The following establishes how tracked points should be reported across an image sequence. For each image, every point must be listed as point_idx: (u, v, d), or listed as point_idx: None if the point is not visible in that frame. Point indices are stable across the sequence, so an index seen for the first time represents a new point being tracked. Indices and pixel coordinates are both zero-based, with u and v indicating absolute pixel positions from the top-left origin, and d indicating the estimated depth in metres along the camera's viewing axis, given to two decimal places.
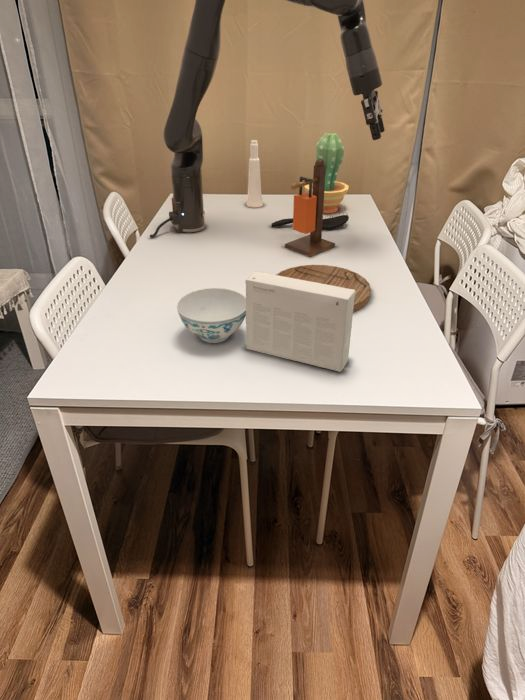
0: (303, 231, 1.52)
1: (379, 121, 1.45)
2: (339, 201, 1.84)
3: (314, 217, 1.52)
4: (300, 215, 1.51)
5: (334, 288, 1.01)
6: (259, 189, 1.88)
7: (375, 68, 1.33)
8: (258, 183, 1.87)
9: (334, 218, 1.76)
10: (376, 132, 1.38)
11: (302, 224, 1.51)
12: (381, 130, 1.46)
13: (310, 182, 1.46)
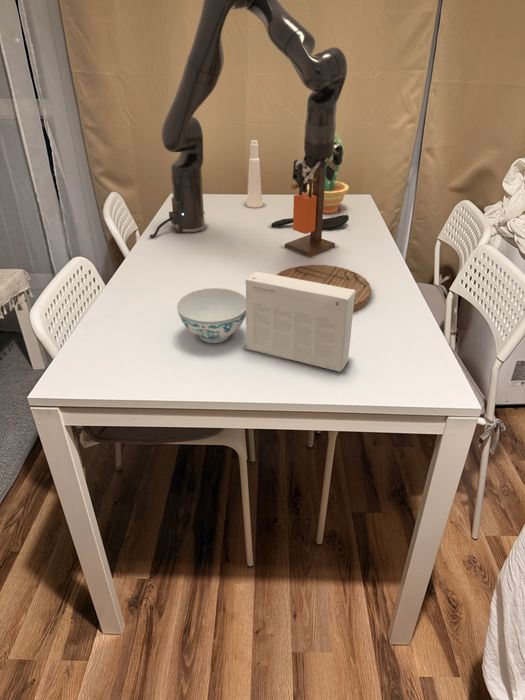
0: (303, 231, 1.52)
1: (329, 171, 1.46)
2: (339, 201, 1.84)
3: (314, 217, 1.52)
4: (300, 215, 1.51)
5: (334, 288, 1.01)
6: (259, 189, 1.88)
7: (321, 144, 1.32)
8: (258, 183, 1.87)
9: (334, 218, 1.76)
10: (301, 188, 1.44)
11: (302, 224, 1.51)
12: (328, 178, 1.48)
13: (310, 182, 1.46)
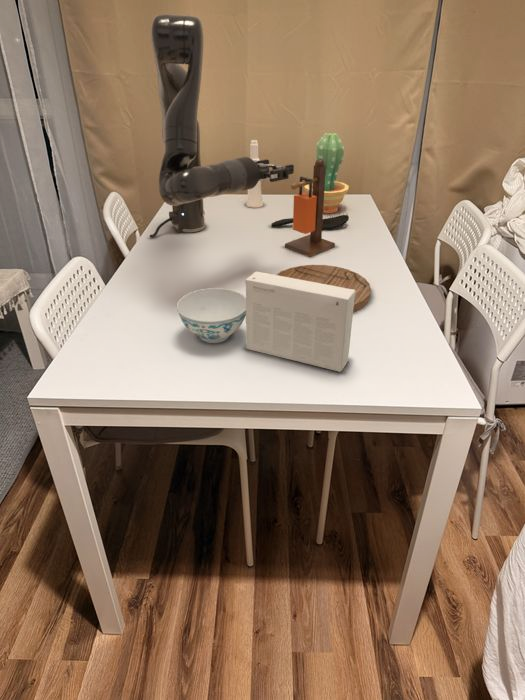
0: (303, 231, 1.52)
1: None
2: (339, 201, 1.84)
3: (314, 217, 1.52)
4: (300, 216, 1.51)
5: (334, 288, 1.01)
6: (259, 189, 1.88)
7: None
8: (258, 183, 1.87)
9: (334, 218, 1.76)
10: None
11: (302, 224, 1.51)
12: None
13: (310, 182, 1.46)
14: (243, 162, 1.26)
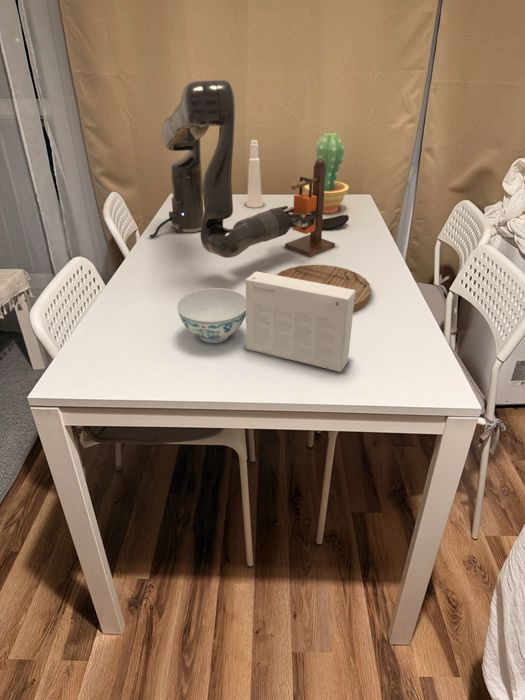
0: (303, 231, 1.52)
1: None
2: (339, 201, 1.84)
3: None
4: None
5: (334, 288, 1.01)
6: (259, 189, 1.88)
7: None
8: (258, 183, 1.87)
9: (334, 218, 1.76)
10: None
11: None
12: None
13: (310, 182, 1.46)
14: (276, 214, 1.42)
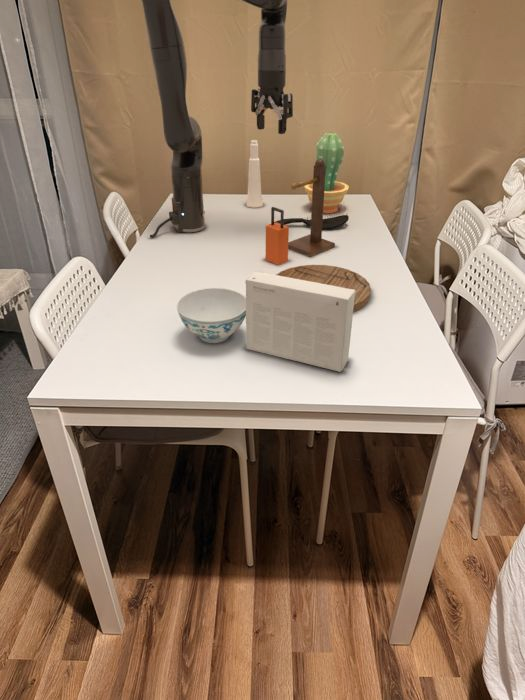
0: (275, 262, 1.49)
1: (262, 118, 1.55)
2: (339, 201, 1.84)
3: (286, 248, 1.49)
4: (272, 246, 1.48)
5: (334, 288, 1.01)
6: (259, 189, 1.88)
7: None
8: (258, 183, 1.87)
9: (334, 218, 1.76)
10: (285, 127, 1.50)
11: (275, 255, 1.48)
12: (262, 127, 1.56)
13: (281, 213, 1.43)
14: (258, 72, 1.45)
